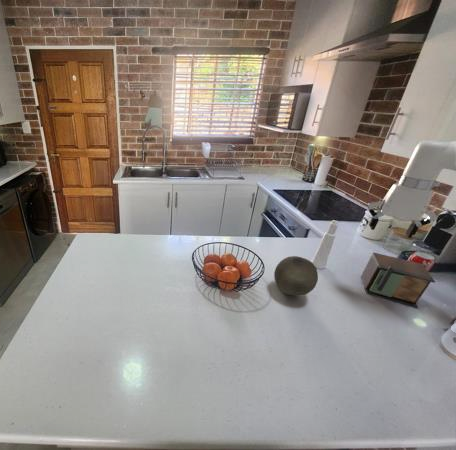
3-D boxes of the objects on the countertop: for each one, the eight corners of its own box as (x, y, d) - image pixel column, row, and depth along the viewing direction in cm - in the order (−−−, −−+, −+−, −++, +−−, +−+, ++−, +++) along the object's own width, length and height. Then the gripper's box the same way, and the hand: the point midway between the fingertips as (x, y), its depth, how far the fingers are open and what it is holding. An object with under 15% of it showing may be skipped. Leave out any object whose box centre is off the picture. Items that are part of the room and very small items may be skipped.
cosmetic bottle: (313, 259, 115) (330, 216, 105) (327, 266, 110) (346, 222, 100) (307, 264, 111) (324, 220, 101) (322, 270, 107) (341, 225, 97)
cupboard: (406, 288, 98) (422, 264, 93) (417, 308, 89) (435, 282, 83) (360, 276, 105) (373, 252, 99) (366, 293, 95) (379, 267, 90)
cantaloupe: (261, 286, 96) (270, 254, 90) (285, 276, 102) (296, 246, 96) (293, 311, 85) (307, 276, 78) (318, 298, 91) (333, 265, 84)
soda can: (405, 282, 102) (420, 258, 96) (394, 272, 108) (408, 249, 102) (425, 285, 100) (442, 261, 95) (413, 275, 106) (428, 252, 101)
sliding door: (390, 296, 92) (408, 268, 87) (393, 302, 90) (411, 273, 84) (369, 290, 95) (384, 262, 89) (371, 295, 92) (387, 267, 87)
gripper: (448, 185, 75) (419, 234, 83) (377, 175, 83) (356, 221, 90) (460, 192, 69) (427, 244, 77) (382, 181, 77) (359, 229, 84)
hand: (389, 232), depth 84 cm, fingers open, 9 cm apart
